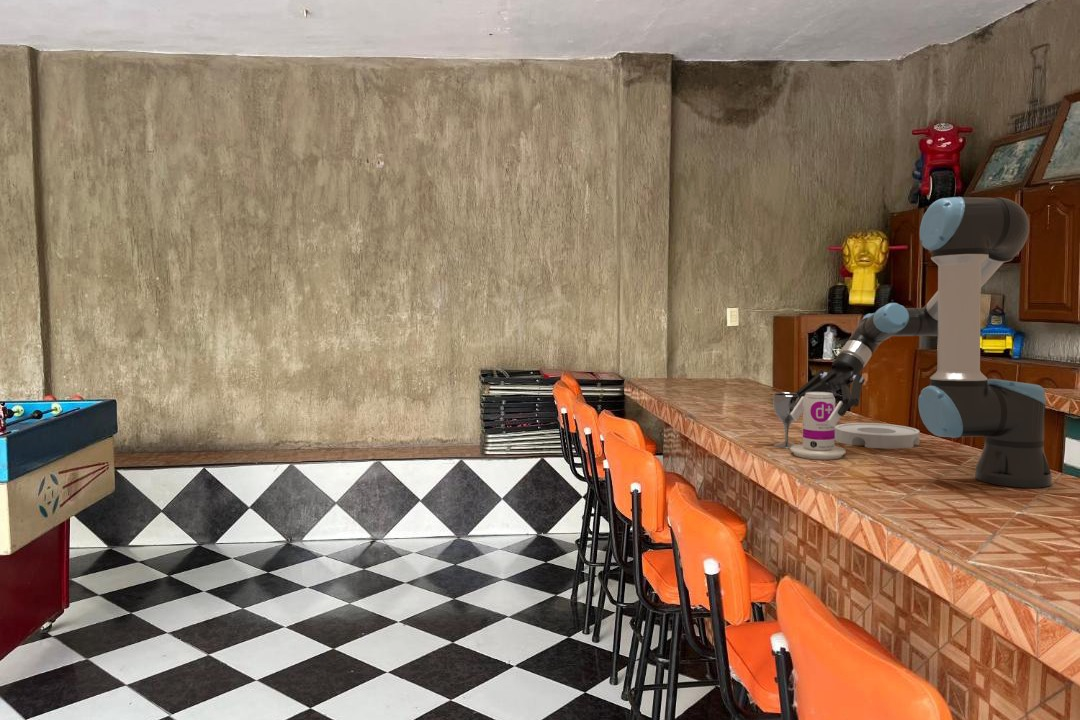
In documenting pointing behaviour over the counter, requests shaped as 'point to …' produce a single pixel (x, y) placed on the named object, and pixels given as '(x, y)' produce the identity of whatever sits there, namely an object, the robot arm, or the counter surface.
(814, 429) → the supplement can
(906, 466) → the counter surface
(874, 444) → the ashtray
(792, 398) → the wine glass
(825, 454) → the dish
